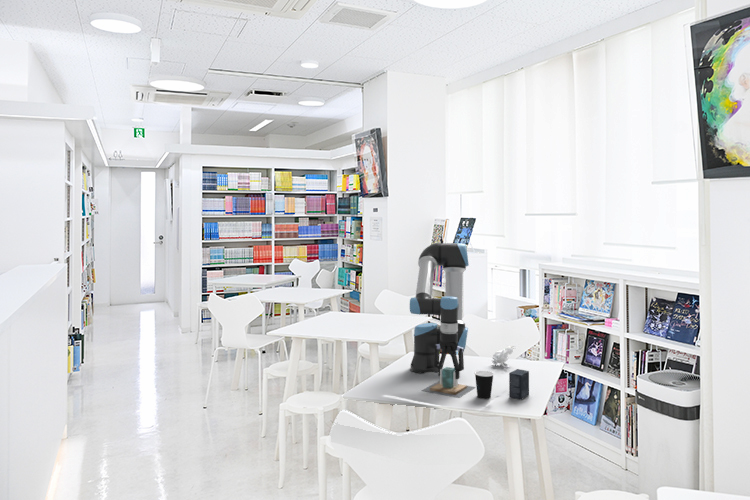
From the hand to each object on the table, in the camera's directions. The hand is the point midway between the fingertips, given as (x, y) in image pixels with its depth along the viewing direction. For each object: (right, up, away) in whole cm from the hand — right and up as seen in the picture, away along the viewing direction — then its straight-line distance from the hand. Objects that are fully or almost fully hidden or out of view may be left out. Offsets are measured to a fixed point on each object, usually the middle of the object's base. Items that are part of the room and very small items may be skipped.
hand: (448, 384), depth 230 cm
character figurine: (+35, -2, +44) cm, 56 cm away
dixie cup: (+13, -3, -11) cm, 17 cm away
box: (+29, -3, -7) cm, 30 cm away
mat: (0, -3, 0) cm, 3 cm away
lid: (0, -2, 0) cm, 2 cm away
